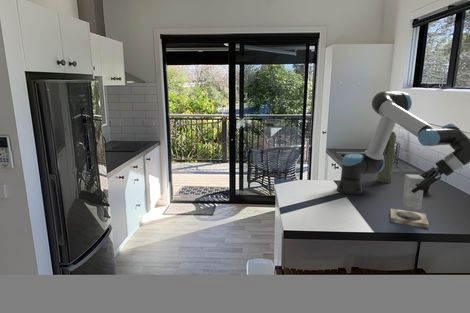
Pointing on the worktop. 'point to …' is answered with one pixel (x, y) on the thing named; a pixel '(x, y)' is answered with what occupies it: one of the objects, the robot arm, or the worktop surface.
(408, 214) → the birch board
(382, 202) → the worktop surface
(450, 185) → the worktop surface
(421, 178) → the skincare box
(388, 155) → the olive green tapered column
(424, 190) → the coffee mug
